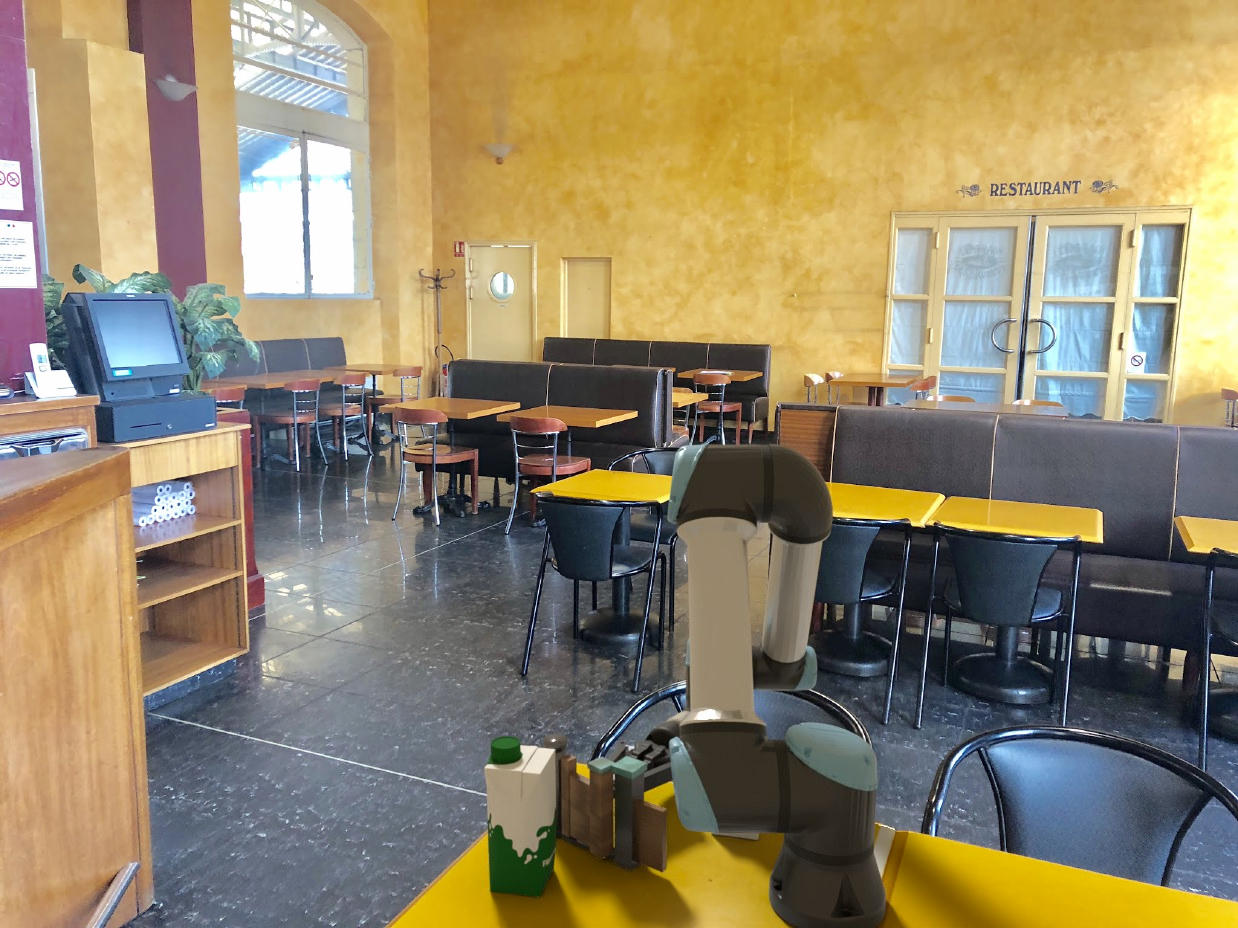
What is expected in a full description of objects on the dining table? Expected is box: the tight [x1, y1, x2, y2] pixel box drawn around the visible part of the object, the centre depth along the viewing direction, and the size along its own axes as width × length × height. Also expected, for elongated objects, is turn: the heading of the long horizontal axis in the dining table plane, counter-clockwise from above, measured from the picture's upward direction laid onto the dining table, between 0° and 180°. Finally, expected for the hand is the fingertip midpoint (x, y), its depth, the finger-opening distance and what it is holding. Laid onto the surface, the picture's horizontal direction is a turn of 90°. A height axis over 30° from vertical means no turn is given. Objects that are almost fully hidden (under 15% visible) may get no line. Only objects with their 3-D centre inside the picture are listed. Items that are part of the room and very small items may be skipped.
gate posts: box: [542, 733, 668, 873], centre depth 136 cm, size 21×4×15 cm, turn 54°
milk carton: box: [483, 735, 557, 898], centre depth 129 cm, size 9×9×20 cm
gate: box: [561, 753, 615, 860], centre depth 136 cm, size 9×3×14 cm, turn 44°
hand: (589, 800), depth 137 cm, fingers closed
